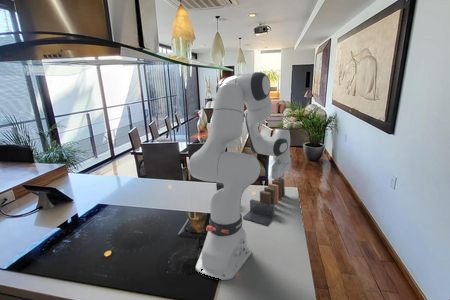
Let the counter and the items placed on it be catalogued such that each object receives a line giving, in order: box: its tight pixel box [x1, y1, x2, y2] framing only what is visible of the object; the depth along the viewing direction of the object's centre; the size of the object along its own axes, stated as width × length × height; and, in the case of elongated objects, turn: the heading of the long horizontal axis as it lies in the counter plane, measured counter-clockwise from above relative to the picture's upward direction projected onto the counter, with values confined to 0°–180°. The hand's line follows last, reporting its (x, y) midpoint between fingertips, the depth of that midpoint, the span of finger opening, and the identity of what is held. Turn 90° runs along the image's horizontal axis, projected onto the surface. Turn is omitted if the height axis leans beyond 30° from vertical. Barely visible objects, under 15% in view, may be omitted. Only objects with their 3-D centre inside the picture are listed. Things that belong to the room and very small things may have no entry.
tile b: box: [271, 179, 283, 201], centre depth 129 cm, size 2×5×10 cm, turn 56°
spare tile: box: [267, 182, 279, 205], centre depth 125 cm, size 2×5×10 cm, turn 57°
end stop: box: [242, 199, 276, 227], centre depth 112 cm, size 9×12×6 cm
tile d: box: [263, 186, 276, 205], centre depth 121 cm, size 2×5×10 cm, turn 56°
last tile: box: [259, 190, 271, 204], centre depth 117 cm, size 2×5×10 cm, turn 56°
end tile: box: [273, 178, 286, 197], centre depth 132 cm, size 2×5×10 cm, turn 57°
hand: (281, 181), depth 133 cm, fingers closed
